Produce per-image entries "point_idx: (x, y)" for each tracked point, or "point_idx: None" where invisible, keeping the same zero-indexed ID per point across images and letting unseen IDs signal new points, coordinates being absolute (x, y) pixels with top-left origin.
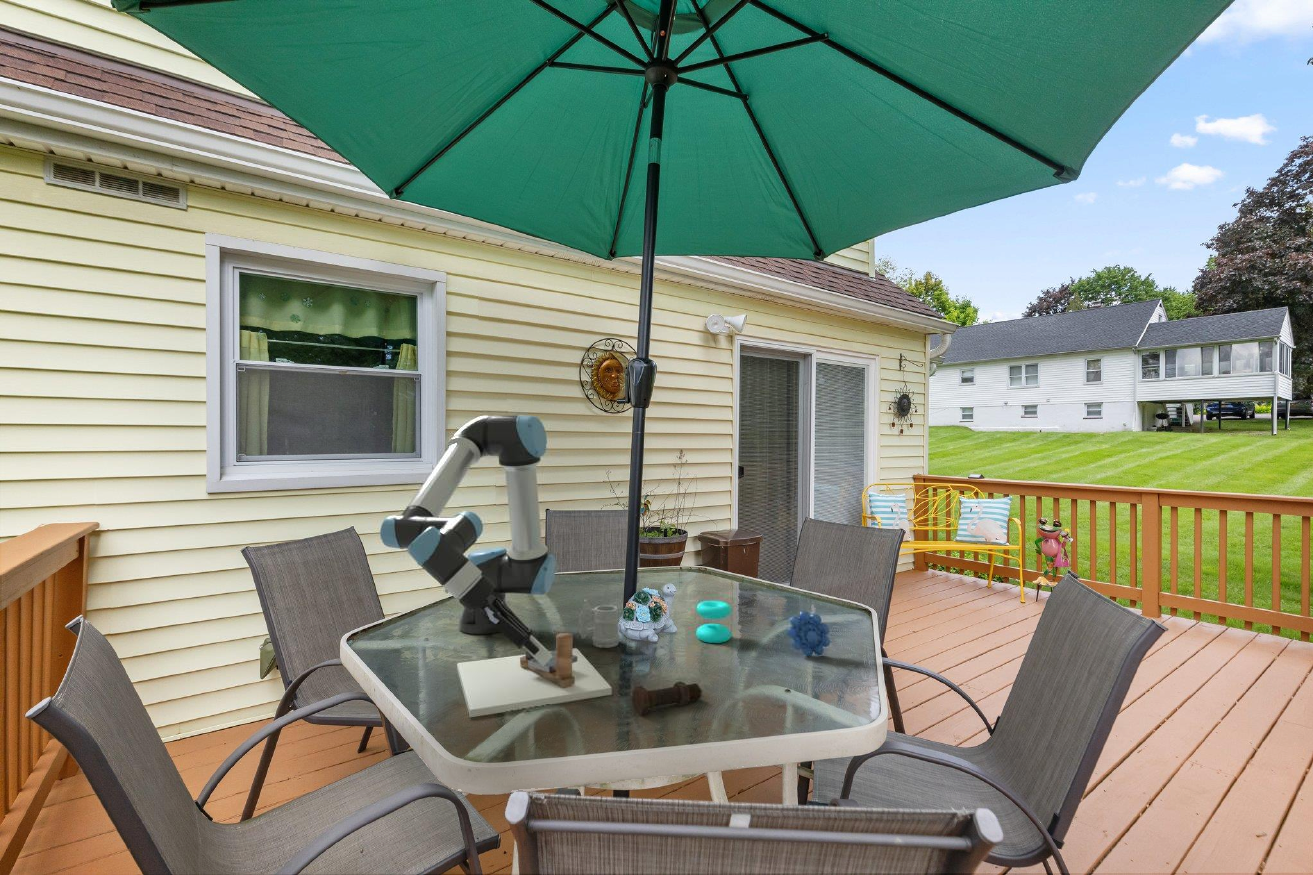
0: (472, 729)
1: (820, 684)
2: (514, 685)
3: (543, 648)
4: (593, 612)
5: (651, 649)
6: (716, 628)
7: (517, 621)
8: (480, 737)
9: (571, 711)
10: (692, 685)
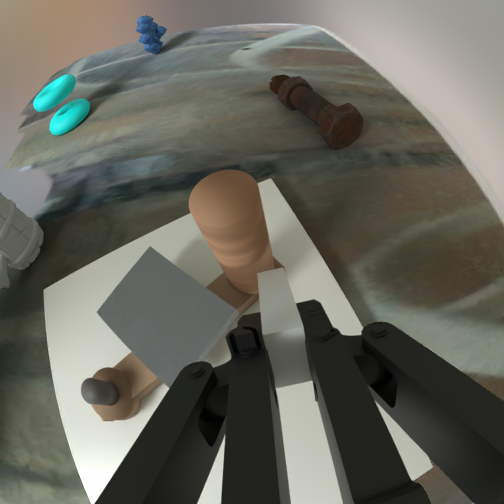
0: None
1: (230, 39)
2: None
3: (286, 287)
4: None
5: (73, 173)
6: (65, 111)
7: (242, 431)
8: (498, 390)
9: (368, 246)
10: (284, 77)
